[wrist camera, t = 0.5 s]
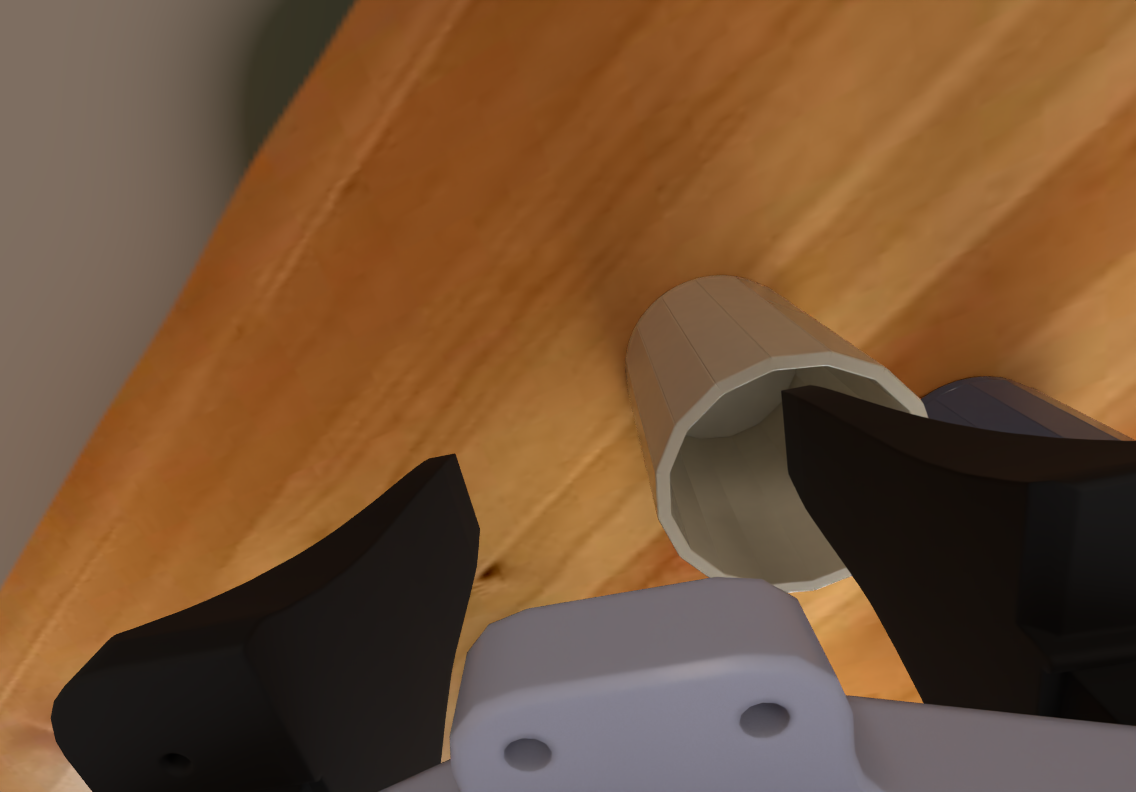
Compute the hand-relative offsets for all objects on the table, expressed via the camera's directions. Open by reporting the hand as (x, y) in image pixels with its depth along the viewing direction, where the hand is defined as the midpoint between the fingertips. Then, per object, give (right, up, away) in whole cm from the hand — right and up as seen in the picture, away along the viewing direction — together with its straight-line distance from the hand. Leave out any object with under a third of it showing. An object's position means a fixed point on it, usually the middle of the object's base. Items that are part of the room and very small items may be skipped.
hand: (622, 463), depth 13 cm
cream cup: (+4, +3, +10) cm, 11 cm away
